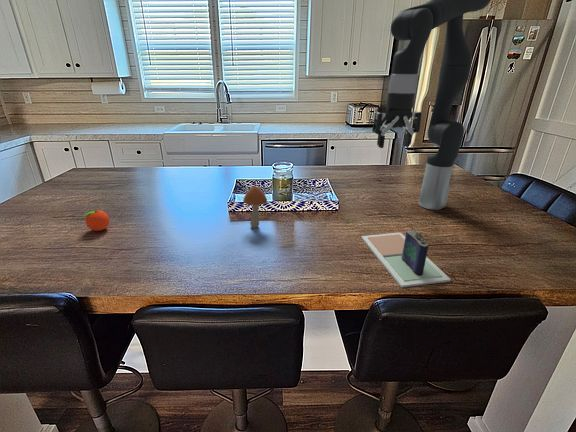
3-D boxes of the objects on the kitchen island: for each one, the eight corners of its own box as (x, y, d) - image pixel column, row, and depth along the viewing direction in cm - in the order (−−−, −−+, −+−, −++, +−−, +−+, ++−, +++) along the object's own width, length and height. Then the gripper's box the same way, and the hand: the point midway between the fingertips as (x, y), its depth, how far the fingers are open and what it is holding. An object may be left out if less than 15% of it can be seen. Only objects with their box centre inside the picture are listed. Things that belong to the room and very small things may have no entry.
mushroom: (271, 223, 113) (270, 183, 106) (262, 233, 106) (260, 191, 99) (250, 220, 115) (248, 180, 108) (240, 229, 108) (238, 188, 102)
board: (400, 234, 106) (401, 231, 106) (450, 281, 83) (451, 278, 82) (361, 237, 104) (361, 235, 103) (401, 287, 81) (401, 284, 80)
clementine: (84, 237, 103) (78, 217, 100) (85, 228, 109) (79, 209, 106) (111, 231, 106) (106, 212, 103) (111, 223, 112) (106, 205, 109)
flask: (399, 257, 92) (405, 224, 87) (408, 256, 92) (415, 223, 87) (416, 276, 83) (424, 241, 79) (426, 275, 84) (434, 240, 79)
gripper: (417, 89, 96) (408, 143, 103) (373, 90, 94) (367, 145, 101) (431, 91, 89) (421, 148, 96) (384, 92, 87) (377, 150, 94)
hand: (393, 146), depth 98 cm, fingers open, 8 cm apart
